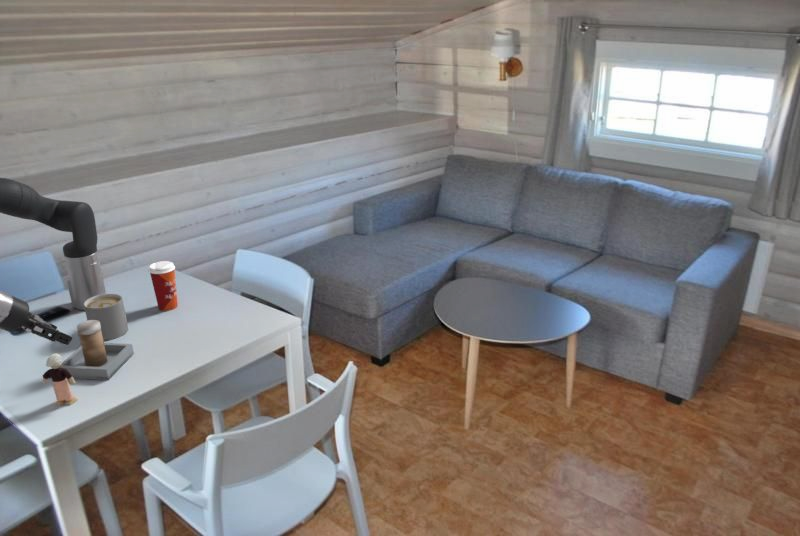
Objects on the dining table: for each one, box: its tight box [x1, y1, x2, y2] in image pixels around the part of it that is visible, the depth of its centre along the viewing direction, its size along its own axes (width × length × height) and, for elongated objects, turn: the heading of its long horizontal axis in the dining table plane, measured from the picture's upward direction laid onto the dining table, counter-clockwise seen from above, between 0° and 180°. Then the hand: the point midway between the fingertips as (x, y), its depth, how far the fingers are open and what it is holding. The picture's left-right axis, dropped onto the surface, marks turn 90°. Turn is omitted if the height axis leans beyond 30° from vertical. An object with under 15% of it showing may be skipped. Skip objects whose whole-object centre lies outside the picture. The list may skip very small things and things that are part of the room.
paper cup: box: [148, 260, 178, 312], centre depth 196 cm, size 8×8×14 cm
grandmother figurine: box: [41, 352, 79, 406], centre depth 148 cm, size 8×4×13 cm, turn 98°
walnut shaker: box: [76, 320, 108, 367], centre depth 164 cm, size 5×5×11 cm
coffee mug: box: [84, 293, 129, 342], centre depth 183 cm, size 13×10×10 cm
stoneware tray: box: [61, 342, 135, 381], centre depth 166 cm, size 13×13×3 cm
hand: (62, 335), depth 157 cm, fingers open, 8 cm apart
